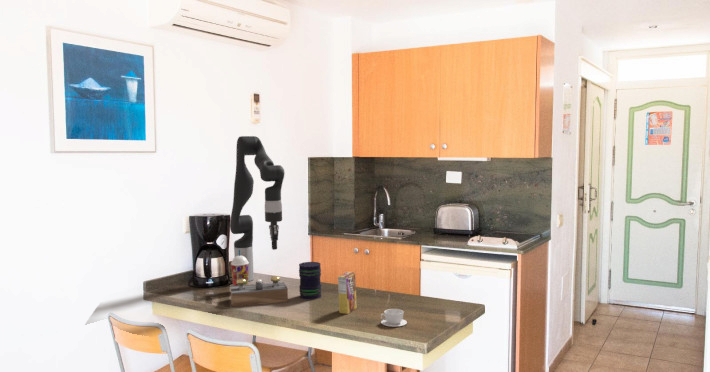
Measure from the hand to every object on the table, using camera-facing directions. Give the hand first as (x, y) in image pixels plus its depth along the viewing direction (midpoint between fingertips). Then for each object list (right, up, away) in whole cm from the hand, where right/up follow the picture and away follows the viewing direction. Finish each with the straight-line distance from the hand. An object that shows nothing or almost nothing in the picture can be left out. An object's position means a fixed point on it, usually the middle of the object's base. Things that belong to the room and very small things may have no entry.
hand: (274, 249), depth 254 cm
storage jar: (+16, -22, +5) cm, 28 cm away
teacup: (+51, -25, -35) cm, 66 cm away
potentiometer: (-6, -17, -4) cm, 19 cm away
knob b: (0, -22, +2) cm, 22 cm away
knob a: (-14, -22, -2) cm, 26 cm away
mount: (-7, -23, 0) cm, 24 cm away
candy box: (+33, -24, -18) cm, 44 cm away
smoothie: (-18, -22, +16) cm, 32 cm away
